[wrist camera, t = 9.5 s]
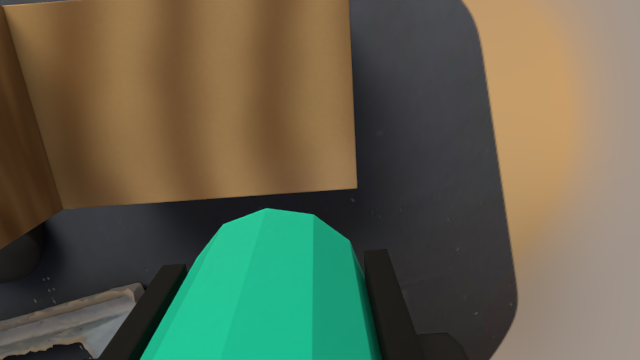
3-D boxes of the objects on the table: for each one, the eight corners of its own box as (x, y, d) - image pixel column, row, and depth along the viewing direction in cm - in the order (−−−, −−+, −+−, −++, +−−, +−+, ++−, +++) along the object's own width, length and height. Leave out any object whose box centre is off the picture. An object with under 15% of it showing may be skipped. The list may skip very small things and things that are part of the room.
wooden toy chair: (337, 1, 31) (379, -88, 11) (345, 148, 35) (387, 288, 15) (87, 20, 32) (-333, -32, 11) (121, 164, 35) (-145, 324, 15)
